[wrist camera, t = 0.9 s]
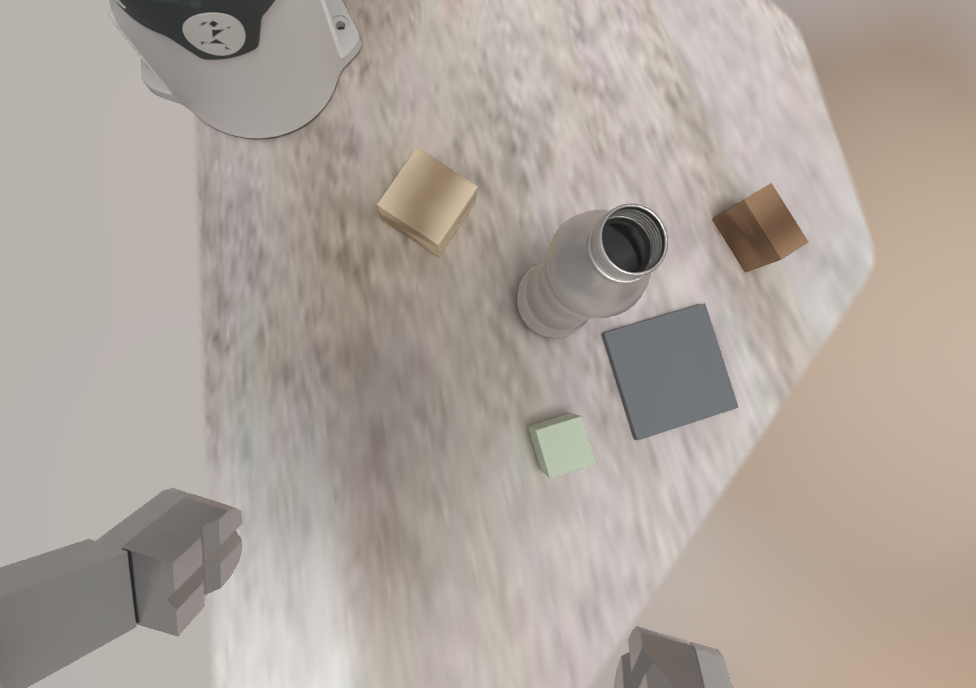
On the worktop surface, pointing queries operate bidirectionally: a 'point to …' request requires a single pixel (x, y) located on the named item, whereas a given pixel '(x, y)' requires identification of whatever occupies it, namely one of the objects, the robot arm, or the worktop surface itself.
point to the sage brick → (561, 444)
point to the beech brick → (427, 201)
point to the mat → (669, 371)
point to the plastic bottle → (592, 269)
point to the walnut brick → (760, 229)
